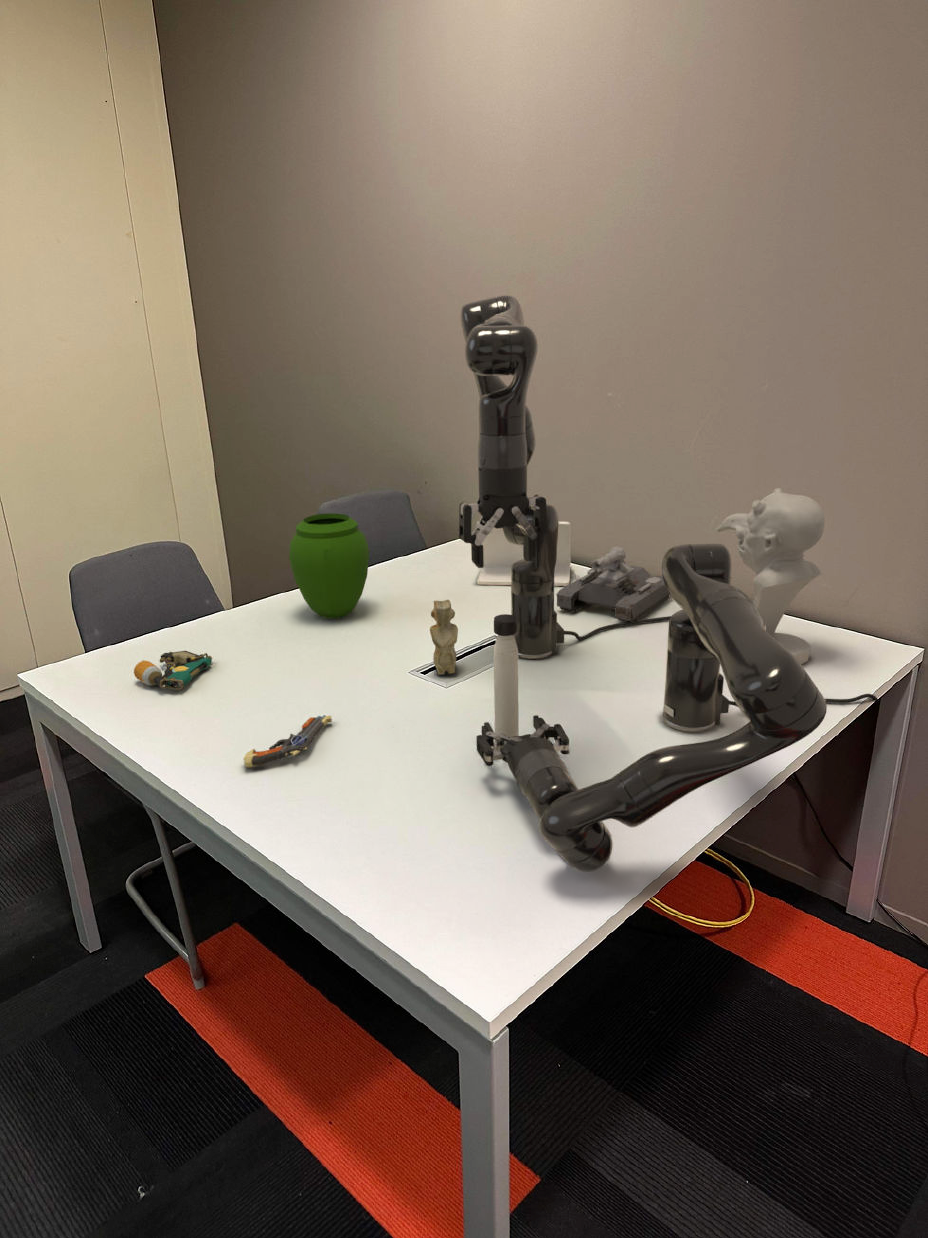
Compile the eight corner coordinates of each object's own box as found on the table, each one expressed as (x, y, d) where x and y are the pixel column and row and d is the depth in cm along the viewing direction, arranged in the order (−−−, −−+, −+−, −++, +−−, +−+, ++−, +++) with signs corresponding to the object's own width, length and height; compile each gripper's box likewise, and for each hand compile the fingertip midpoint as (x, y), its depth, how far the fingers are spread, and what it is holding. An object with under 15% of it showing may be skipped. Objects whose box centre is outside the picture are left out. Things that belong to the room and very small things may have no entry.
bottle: (514, 738, 151) (513, 614, 143) (522, 749, 147) (521, 623, 139) (492, 742, 150) (489, 617, 142) (499, 753, 146) (497, 626, 138)
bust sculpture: (744, 623, 200) (759, 474, 187) (830, 658, 180) (852, 494, 167) (692, 637, 193) (703, 483, 180) (775, 674, 173) (793, 504, 160)
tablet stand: (569, 585, 229) (570, 524, 223) (476, 584, 232) (475, 523, 226) (570, 566, 246) (571, 508, 240) (484, 564, 249) (483, 507, 243)
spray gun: (177, 659, 191) (231, 671, 185) (120, 684, 176) (176, 698, 171) (176, 641, 190) (230, 653, 184) (118, 665, 175) (174, 678, 169)
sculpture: (458, 662, 183) (456, 596, 178) (460, 676, 176) (457, 608, 171) (431, 663, 183) (428, 597, 177) (431, 677, 176) (428, 609, 171)
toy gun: (238, 757, 142) (294, 755, 140) (282, 713, 160) (332, 710, 158) (241, 772, 143) (297, 770, 141) (284, 726, 161) (334, 724, 159)
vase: (389, 608, 216) (383, 514, 208) (339, 633, 201) (330, 533, 192) (330, 596, 226) (322, 506, 218) (278, 619, 211) (267, 523, 202)
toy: (603, 584, 229) (605, 530, 224) (673, 597, 218) (677, 540, 213) (555, 612, 210) (556, 553, 205) (630, 627, 199) (633, 566, 194)
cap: (512, 626, 144) (512, 612, 143) (520, 634, 140) (520, 620, 139) (490, 629, 143) (490, 615, 142) (498, 637, 139) (497, 623, 138)
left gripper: (535, 454, 137) (535, 552, 143) (451, 462, 133) (454, 562, 138) (555, 462, 130) (554, 564, 136) (466, 470, 126) (469, 575, 132)
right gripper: (494, 800, 128) (470, 749, 143) (584, 786, 131) (551, 737, 146) (493, 757, 126) (468, 709, 141) (584, 743, 128) (551, 698, 143)
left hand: (503, 563), depth 137 cm, fingers open, 8 cm apart
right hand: (510, 723), depth 143 cm, fingers open, 8 cm apart
